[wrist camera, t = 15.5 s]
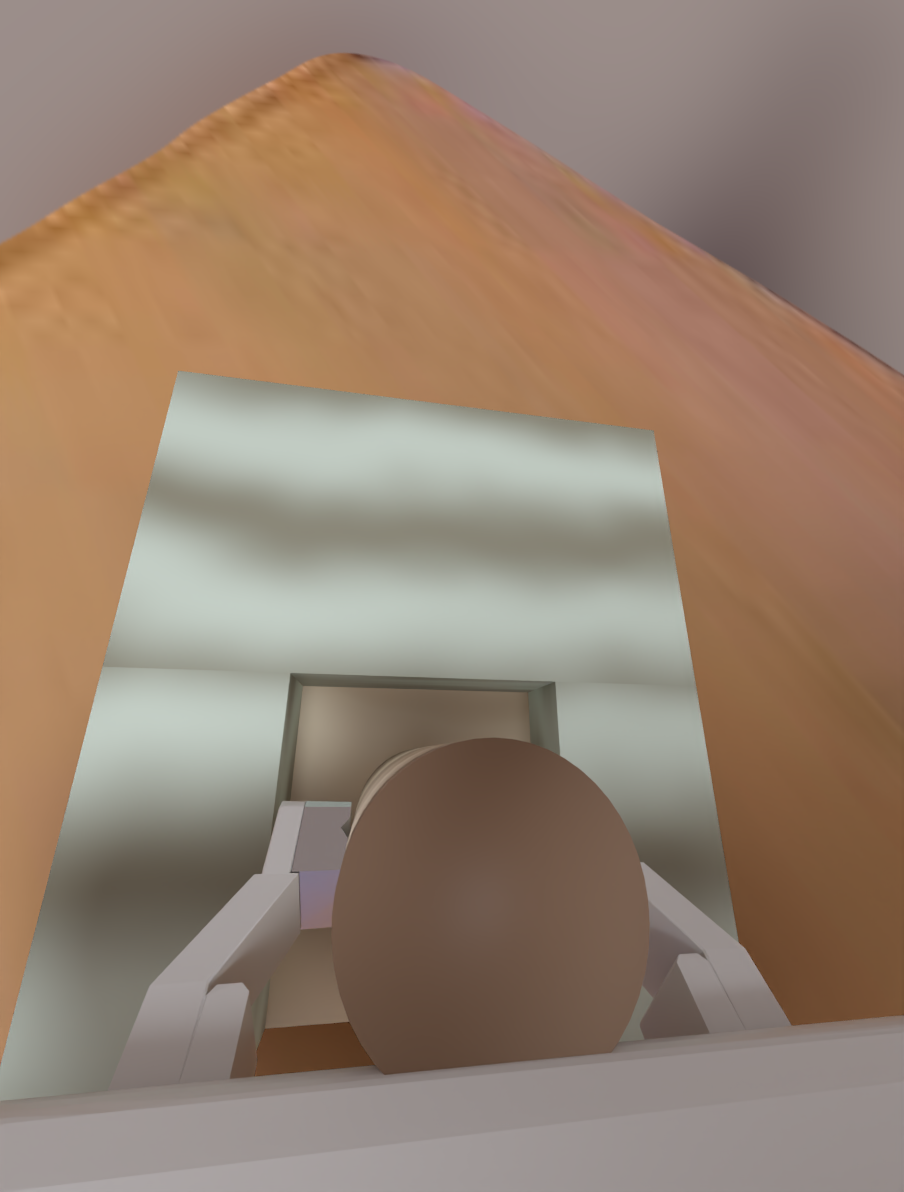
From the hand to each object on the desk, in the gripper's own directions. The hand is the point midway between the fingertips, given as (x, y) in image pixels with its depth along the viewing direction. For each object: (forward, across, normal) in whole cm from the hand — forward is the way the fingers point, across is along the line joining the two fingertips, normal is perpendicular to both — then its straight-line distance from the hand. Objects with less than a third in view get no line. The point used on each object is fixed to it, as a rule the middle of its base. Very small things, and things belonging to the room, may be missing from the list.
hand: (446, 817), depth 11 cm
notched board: (+9, 0, +3) cm, 9 cm away
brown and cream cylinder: (+3, 0, +4) cm, 5 cm away
